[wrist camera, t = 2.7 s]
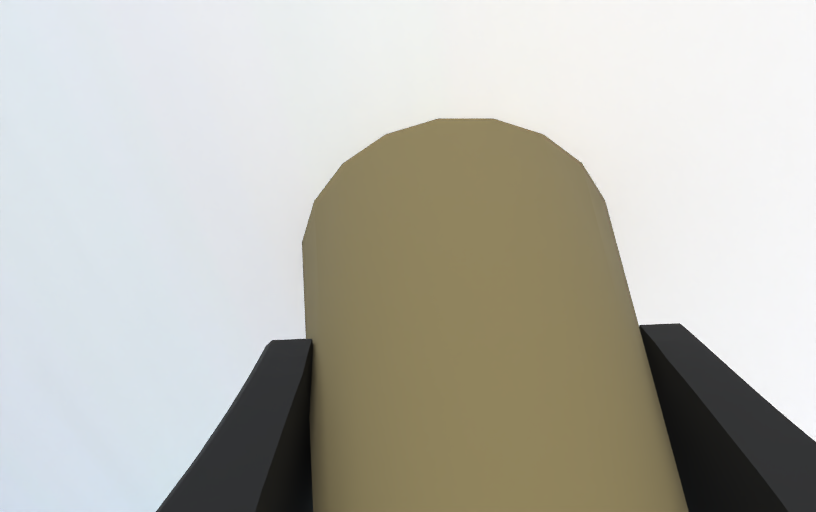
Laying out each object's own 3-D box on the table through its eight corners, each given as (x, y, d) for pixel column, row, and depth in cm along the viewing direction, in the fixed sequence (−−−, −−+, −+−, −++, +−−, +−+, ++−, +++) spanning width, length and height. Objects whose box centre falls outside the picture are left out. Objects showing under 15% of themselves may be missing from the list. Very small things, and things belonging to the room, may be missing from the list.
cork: (646, 312, 14) (1141, 1283, 5) (390, 406, 15) (395, 1295, 6) (551, 56, 11) (1458, 1454, 2) (239, 204, 12) (-202, 1402, 3)
